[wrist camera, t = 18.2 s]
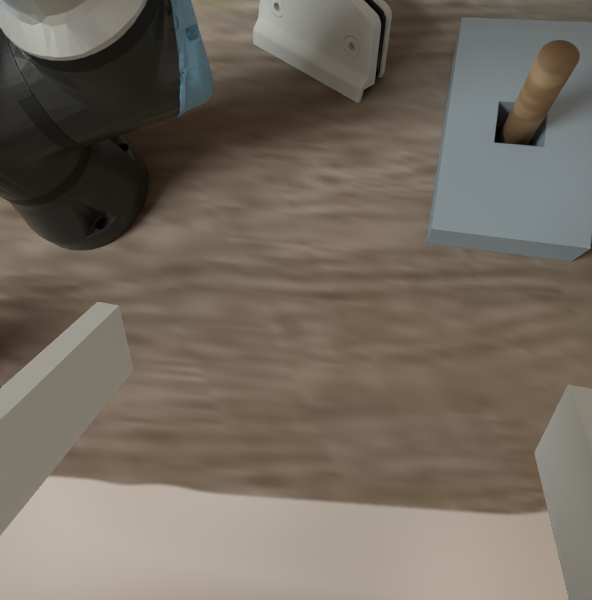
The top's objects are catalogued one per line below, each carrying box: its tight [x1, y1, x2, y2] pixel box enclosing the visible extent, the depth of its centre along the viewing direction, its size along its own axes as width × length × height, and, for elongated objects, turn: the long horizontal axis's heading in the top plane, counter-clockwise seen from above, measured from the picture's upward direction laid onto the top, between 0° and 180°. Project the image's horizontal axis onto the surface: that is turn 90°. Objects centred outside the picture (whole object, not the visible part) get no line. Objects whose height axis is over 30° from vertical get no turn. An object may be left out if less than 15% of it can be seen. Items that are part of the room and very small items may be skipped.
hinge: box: [253, 0, 392, 103], centre depth 51 cm, size 17×5×10 cm, turn 53°
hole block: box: [426, 17, 592, 262], centre depth 46 cm, size 24×14×4 cm, turn 169°
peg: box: [496, 40, 580, 145], centre depth 42 cm, size 3×3×13 cm
